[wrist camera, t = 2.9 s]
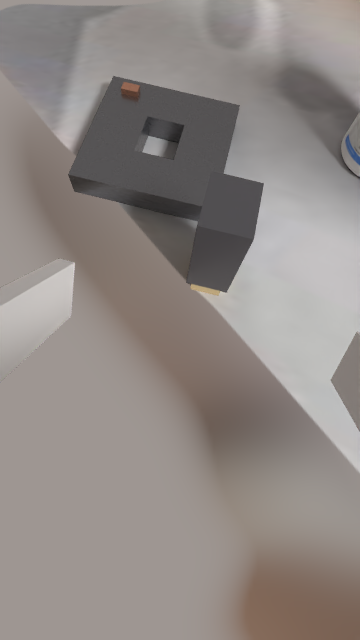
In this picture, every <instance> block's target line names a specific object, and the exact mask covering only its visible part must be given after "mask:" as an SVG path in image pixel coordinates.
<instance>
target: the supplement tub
mask: <svg viewBox="0 0 360 640" xmlns="http://www.w3.org/2000/svg"><path fill="white" fill-rule="evenodd" d="M341 152H342V156H343V159H344V162H345V163H346V165H347V166H348V168H349V169H350V170H351V171H352V172H353V173H355V174H356V175H357V176H359V177H360V112H359V113H358V115H357V117H356V118H355V120H354V121H353V123H352V125H351V126H350V128H349V129H348V131H347V133H346V134H345V136H344V137H343V140H342V144H341Z"/></svg>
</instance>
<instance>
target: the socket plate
mask: <svg viewBox="0 0 360 640" xmlns="http://www.w3.org/2000/svg"><path fill="white" fill-rule="evenodd" d="M239 106H240V105H235V104H231V103H227V102H223V101H218V100H214V99H210V98H205V97H201V96H197V95H193V94H188V93H184V92H180V91H175V90H171V89H167V88H162V87H158V86H154V85H150V84H145V83H141V82H137V81H132V80H128V79H124V78H120V77H115V76H113V78H112V81H111V83H110V85H109V87H108V89H107V91H106V94H105V96H104V98H103V100H102V102H101V104H100V107H99V109H98V111H97V113H96V115H95V118H94V120H93V122H92V124H91V126H90V128H89V131H88V133H87V135H86V137H85V139H84V141H83V144H82V146H81V148H80V150H79V152H78V155H77V157H76V159H75V161H74V163H73V165H72V168H71V170H70V172H69V174H68V175H69V178H70V181H71V183H72V186H73V189H74V191H75V192H79V193H83V194H87V195H91V196H96V197H100V198H104V199H108V200H112V201H116V202H120V203H125V204H129V205H133V206H137V207H141V208H146V209H150V210H154V211H158V212H162V213H166V214H171V215H175V216H179V217H183V218H187V219H191V220H196V221H199V217H200V213H201V209H202V205H203V201H204V198H205V194H206V190H207V186H208V182H209V178H210V174H211V171H213V172H218V173H222V174H223V173H224V169H225V164H226V160H227V156H228V152H229V148H230V144H231V140H232V135H233V131H234V127H235V123H236V119H237V115H238V110H239ZM148 135H149V136H153V137H157V138H162V139H166V140H170V141H174V142H179V144H178V147H177V151H176V154H175V157H174V160H172V159H167V158H163V157H159V156H155V155H151V154H146V153H142V151H143V148H144V145H145V143H146V140H147V137H148Z"/></svg>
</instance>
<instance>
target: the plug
mask: <svg viewBox="0 0 360 640" xmlns="http://www.w3.org/2000/svg"><path fill="white" fill-rule="evenodd" d="M263 185H264V183H260V182H256V181H251V180H247V179H243V178H239V177H234V176H230V175H226V174H222V173H218V172H213V171H211V174H210V178H209V182H208V186H207V190H206V194H205V198H204V201H203V205H202V209H201V213H200V217H199V221H198V225H197V229H196V235H195V240H194V245H193V250H192V256H191V261H190V266H189V271H188V276H187V282H186V283H189V284H191V289H193V290H197V291H201V292H205V293H209V294H213V295H219V293H220V291H222V292H227V290H228V288H229V287H230V285H231V283H232V281H233V279H234V277H235V275H236V273H237V271H238V269H239V267H240V265H241V263H242V261H243V259H244V257H245V255H246V253H247V251H248V249H249V247H250V246H251V244H252V242H253V240H254V235H255V229H256V224H257V218H258V213H259V207H260V202H261V196H262V191H263Z"/></svg>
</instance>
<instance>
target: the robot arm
mask: <svg viewBox="0 0 360 640" xmlns="http://www.w3.org/2000/svg"><path fill="white" fill-rule="evenodd" d="M74 269H75V262H72V261H68V260H64V259H57V260H54V261H52V262H50V263H48V264H46V265H44V266H42V267H40V268H38V269H36V270H34V271H32V272H31V273H28V274H26V275H24V276H22V277H21V278H18V279H16V280H14V281H12V282H10V283H9V284H6V285H5V286H2V287H0V382H1V381H3V380H4V379H5V378H6V377H7V376H8V375H9V374H10V373H11V372H12V371H13V370H14V369H15V368H16V367H17V366H19V365H20V364H21V363H22V362H23V361H24V360H25V359H26V358H27V357H28V356H29V355H30V354H31V353H32V352H33V351H35V350H36V348H38V347H39V346H40V345H41V344H42V343H43V342H44V341H45V340H46V339H47V338H48V337H49V336H51V335H52V334H53V333H54V332H55V331H56V330H57V329H58V328H59V327H60V326H61V325H62V324H63V323H64V322H65V321H66V320H67V319H69V318H70V317H71V314H72V298H73V284H74ZM331 382H332V383H333V385H334V387H335V389H336V391H337V392H338V394H339V396H340V398H341V399H342V401H343V403H344V405H345V407H346V408H347V410H348V412H349V414H350V415H351V417H352V419H353V421H354V422H355V424H356V426H357V428H358V430H359V431H360V333H359V332H356V334H355V336H354V338H353V340H352V342H351V344H350V345H349V347H348V349H347V351H346V353H345V355H344V356H343V358H342V360H341V362H340V364H339V366H338V368H337V369H336V371H335V373H334V375H333V377H332V379H331Z"/></svg>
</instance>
